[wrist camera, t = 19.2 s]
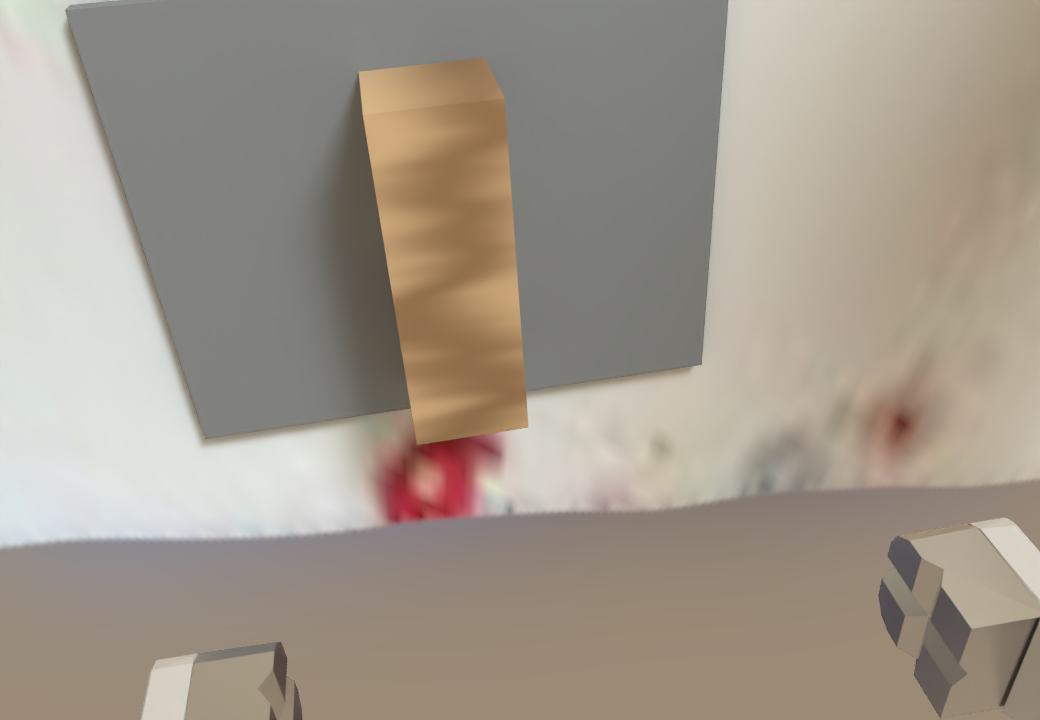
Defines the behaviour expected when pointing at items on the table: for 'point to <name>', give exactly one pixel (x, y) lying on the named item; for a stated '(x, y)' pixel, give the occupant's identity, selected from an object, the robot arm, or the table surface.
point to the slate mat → (352, 198)
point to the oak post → (449, 243)
